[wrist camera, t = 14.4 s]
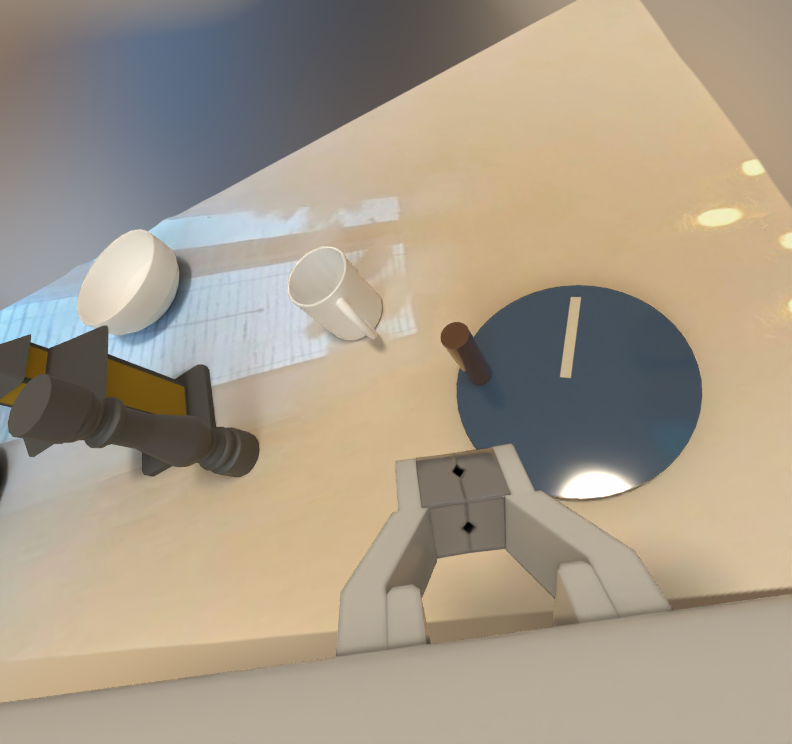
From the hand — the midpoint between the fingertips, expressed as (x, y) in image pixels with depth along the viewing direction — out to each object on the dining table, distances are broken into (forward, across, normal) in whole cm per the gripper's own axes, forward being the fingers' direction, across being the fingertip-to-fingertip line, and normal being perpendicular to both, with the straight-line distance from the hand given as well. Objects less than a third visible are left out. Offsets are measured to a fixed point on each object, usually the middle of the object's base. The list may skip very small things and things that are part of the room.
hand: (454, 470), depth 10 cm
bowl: (+70, +47, +13) cm, 85 cm away
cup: (+44, +6, +14) cm, 46 cm away
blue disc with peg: (+26, -15, +17) cm, 35 cm away
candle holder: (+36, +25, +27) cm, 52 cm away
